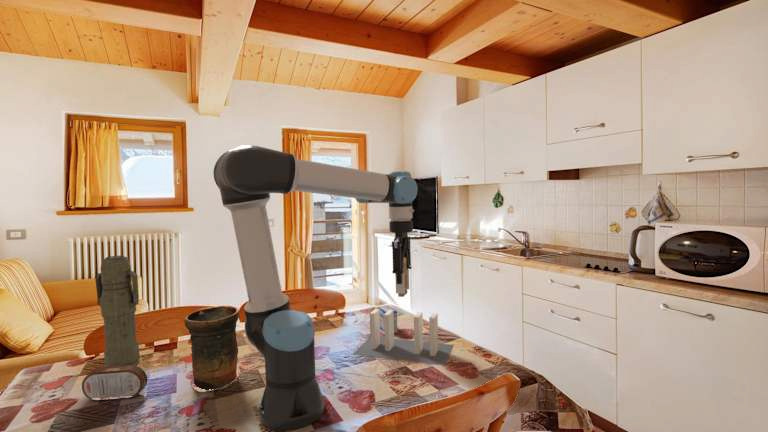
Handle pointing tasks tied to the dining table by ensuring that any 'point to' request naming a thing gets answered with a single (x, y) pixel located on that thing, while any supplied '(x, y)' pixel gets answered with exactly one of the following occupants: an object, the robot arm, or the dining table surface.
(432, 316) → the domino
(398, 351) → the mat
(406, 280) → the oak domino
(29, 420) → the dining table surface
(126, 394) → the tin
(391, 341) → the domino
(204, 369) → the vessel
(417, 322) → the domino
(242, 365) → the dining table surface
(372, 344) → the domino
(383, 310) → the medicine box
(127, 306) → the stone statue
